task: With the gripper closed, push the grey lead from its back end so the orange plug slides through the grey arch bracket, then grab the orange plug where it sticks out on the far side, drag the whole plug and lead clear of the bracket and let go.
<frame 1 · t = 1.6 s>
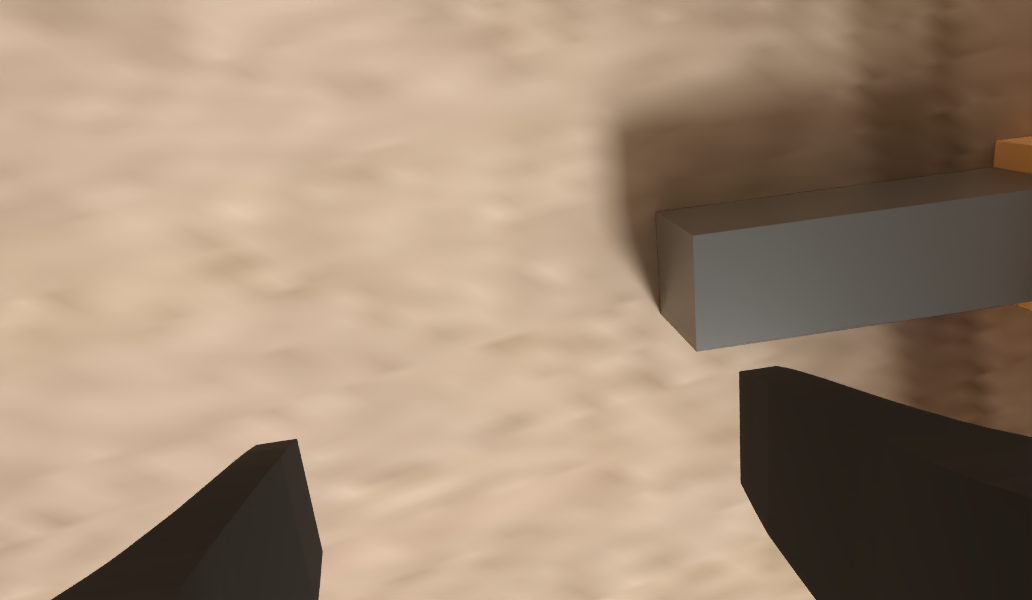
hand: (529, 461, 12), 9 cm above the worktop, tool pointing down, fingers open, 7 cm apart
plug: (924, 226, 22), on the worktop
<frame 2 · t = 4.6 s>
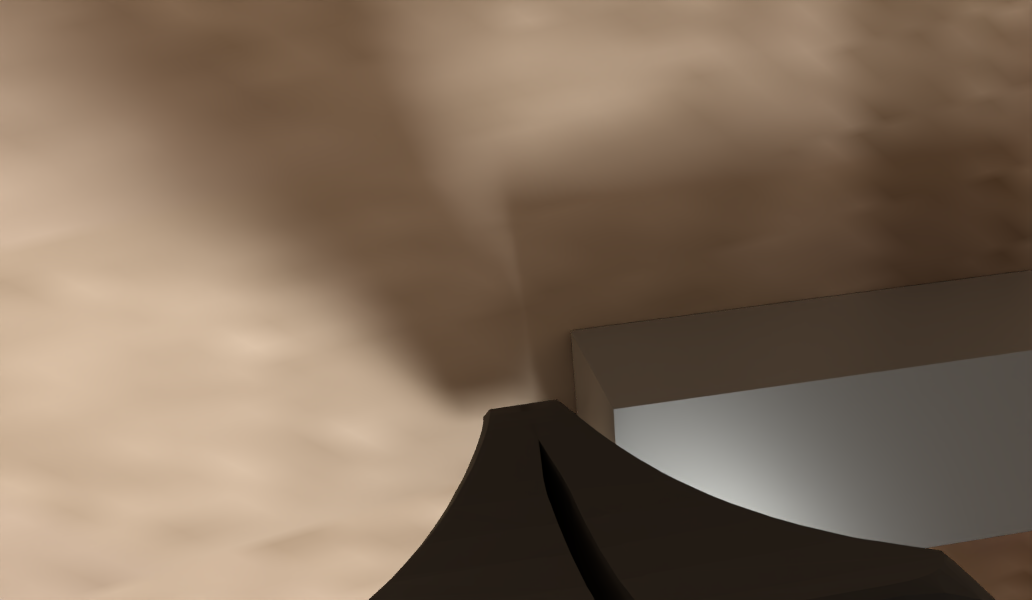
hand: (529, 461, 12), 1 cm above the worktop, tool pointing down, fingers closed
plug: (1002, 350, 14), on the worktop, touching gripper
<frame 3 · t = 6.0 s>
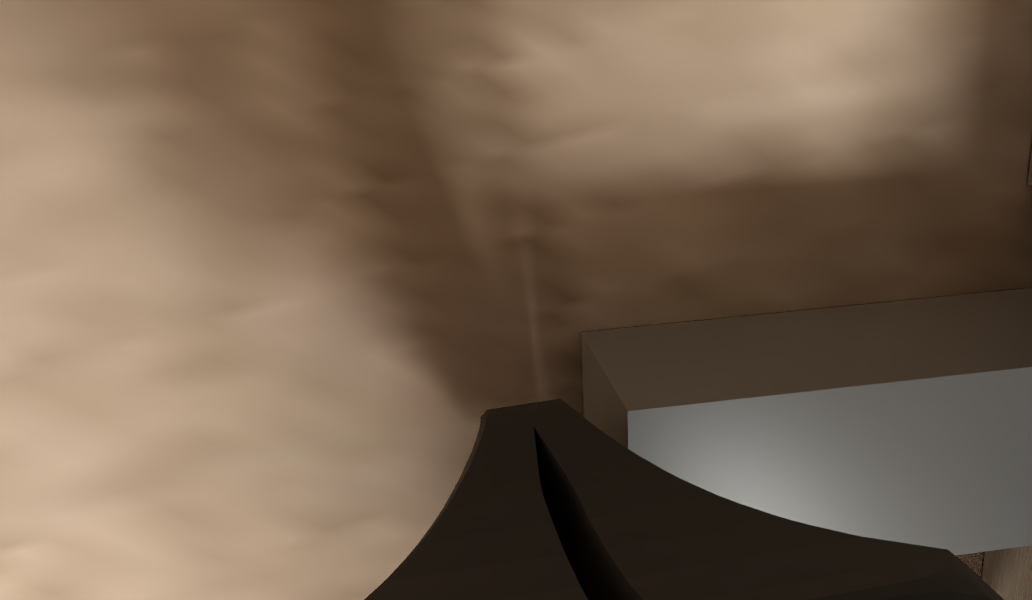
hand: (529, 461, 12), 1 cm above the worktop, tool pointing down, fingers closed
plug: (1005, 365, 14), on the worktop, touching gripper
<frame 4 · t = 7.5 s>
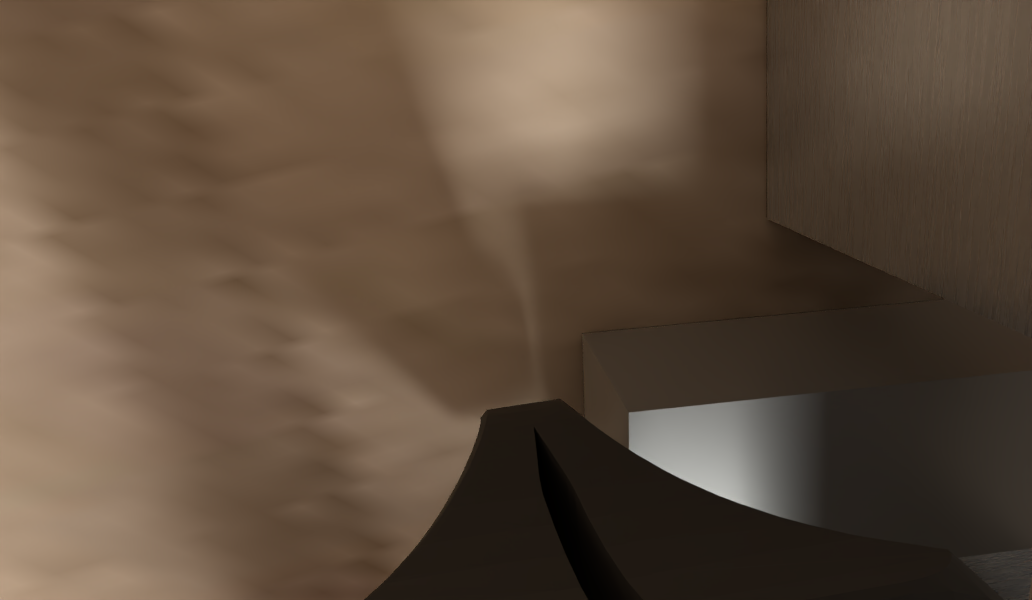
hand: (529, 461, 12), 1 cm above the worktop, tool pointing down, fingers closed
plug: (1005, 369, 14), on the worktop, touching gripper
grey arch bracket: (872, 366, 13), on the worktop
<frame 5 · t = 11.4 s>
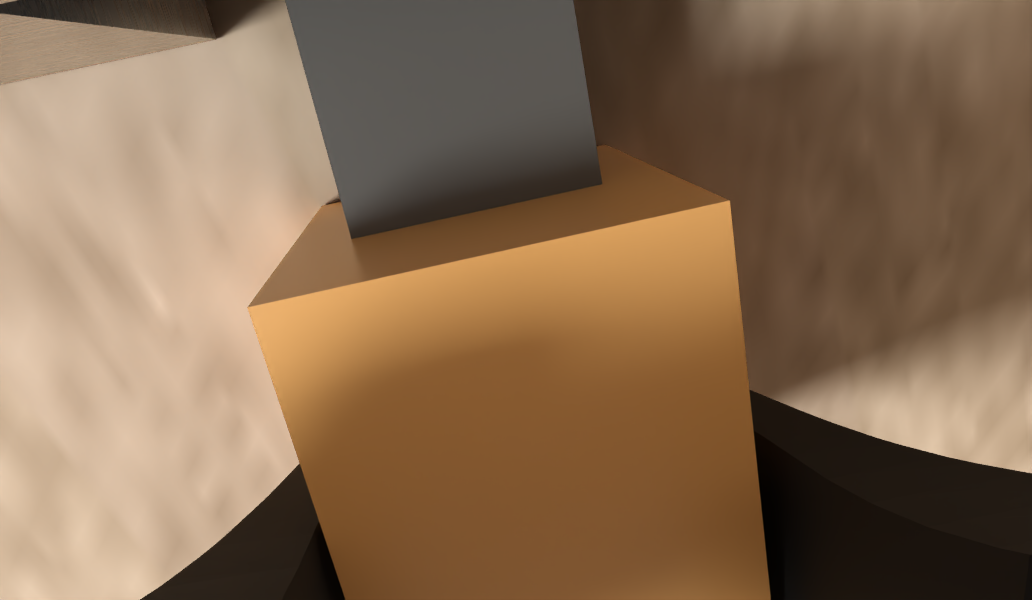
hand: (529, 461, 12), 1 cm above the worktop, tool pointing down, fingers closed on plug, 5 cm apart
plug: (435, 40, 11), on the worktop, touching gripper
when the fingers open (1 cm above the worktop, at t = 14.2 s): plug stays where it is, on the worktop.
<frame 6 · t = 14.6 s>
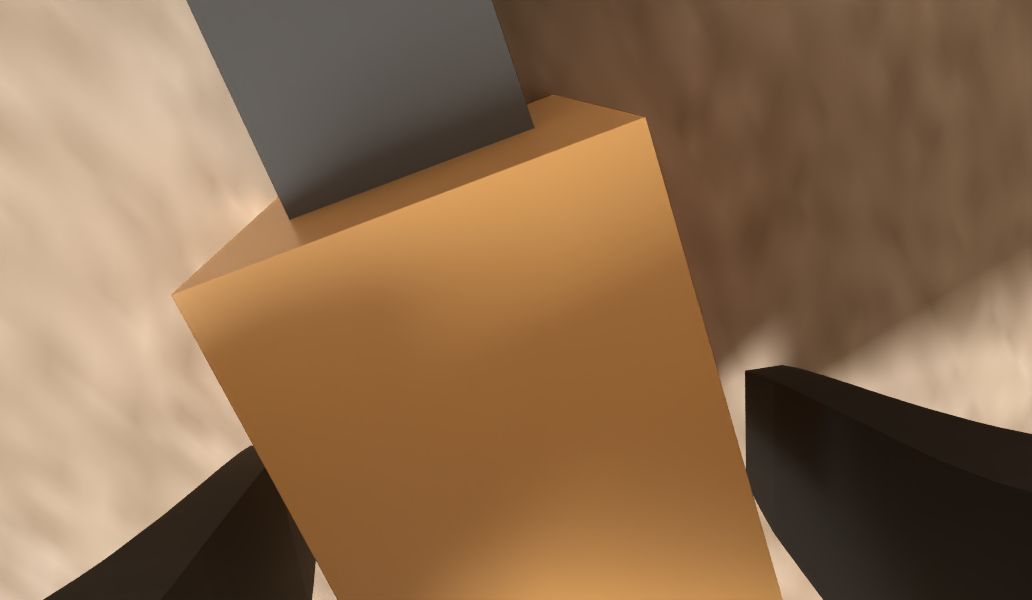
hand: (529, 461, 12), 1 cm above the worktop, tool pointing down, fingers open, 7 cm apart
plug: (363, 13, 11), on the worktop
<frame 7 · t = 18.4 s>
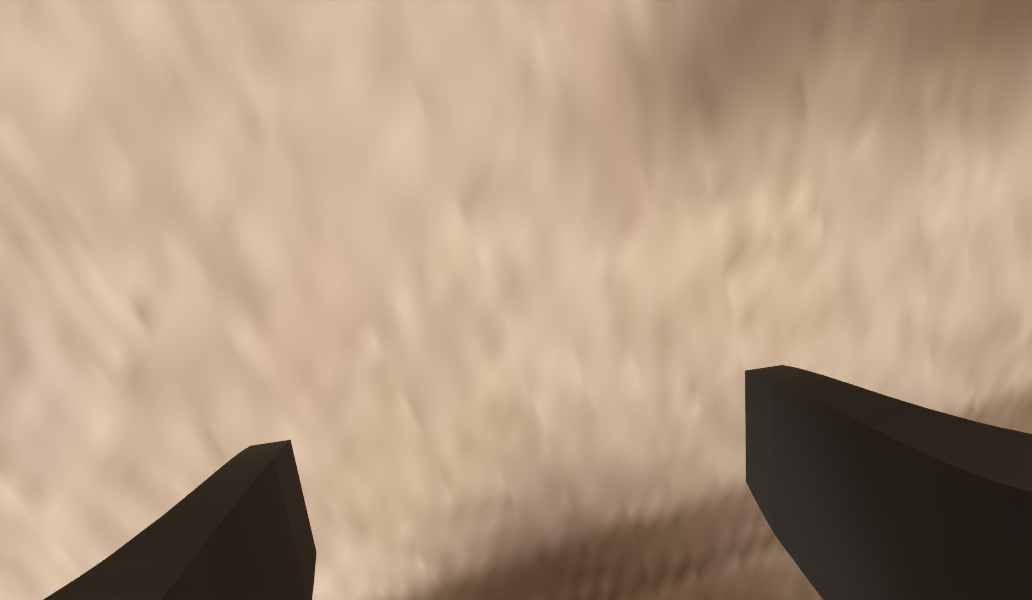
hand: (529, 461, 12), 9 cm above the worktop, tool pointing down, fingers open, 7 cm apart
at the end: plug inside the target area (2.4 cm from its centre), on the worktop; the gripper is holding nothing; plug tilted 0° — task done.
